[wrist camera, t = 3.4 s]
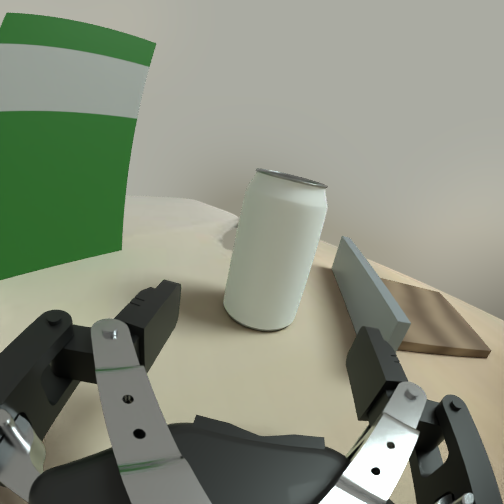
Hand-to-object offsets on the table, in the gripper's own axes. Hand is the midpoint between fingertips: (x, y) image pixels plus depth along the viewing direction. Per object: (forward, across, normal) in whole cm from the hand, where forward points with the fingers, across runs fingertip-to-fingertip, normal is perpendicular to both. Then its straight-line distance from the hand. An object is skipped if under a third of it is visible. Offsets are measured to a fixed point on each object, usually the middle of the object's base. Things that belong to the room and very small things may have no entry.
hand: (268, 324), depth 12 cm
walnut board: (+18, -20, +6) cm, 27 cm away
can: (+12, 0, +7) cm, 13 cm away
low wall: (+17, -10, +6) cm, 20 cm away
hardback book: (+11, +24, +7) cm, 27 cm away
